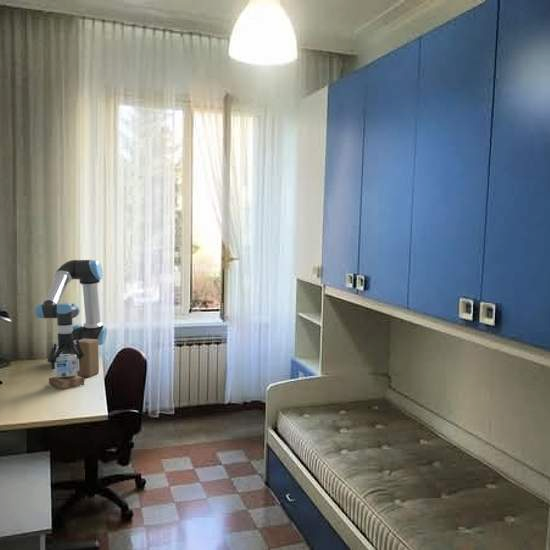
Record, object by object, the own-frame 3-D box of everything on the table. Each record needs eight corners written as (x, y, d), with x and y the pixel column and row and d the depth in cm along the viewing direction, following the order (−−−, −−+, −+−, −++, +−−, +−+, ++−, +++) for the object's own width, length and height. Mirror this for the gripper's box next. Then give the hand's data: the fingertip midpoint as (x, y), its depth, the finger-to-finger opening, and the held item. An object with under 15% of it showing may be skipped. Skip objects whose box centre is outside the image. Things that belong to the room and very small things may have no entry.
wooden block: (73, 376, 319) (72, 341, 317) (84, 371, 329) (83, 337, 327) (89, 377, 316) (88, 342, 314) (99, 373, 326) (98, 339, 324)
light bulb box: (56, 378, 296) (55, 357, 295) (55, 374, 302) (54, 355, 301) (78, 375, 300) (77, 355, 300) (76, 372, 306) (75, 353, 305)
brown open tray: (72, 380, 311) (72, 372, 310) (84, 384, 302) (84, 377, 301) (49, 385, 301) (49, 377, 301) (61, 390, 292) (60, 382, 292)
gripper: (82, 328, 310) (83, 367, 312) (39, 334, 293) (41, 375, 295) (89, 330, 305) (90, 369, 307) (46, 336, 288) (47, 378, 290)
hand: (66, 372), depth 301 cm, fingers closed on light bulb box, 12 cm apart
